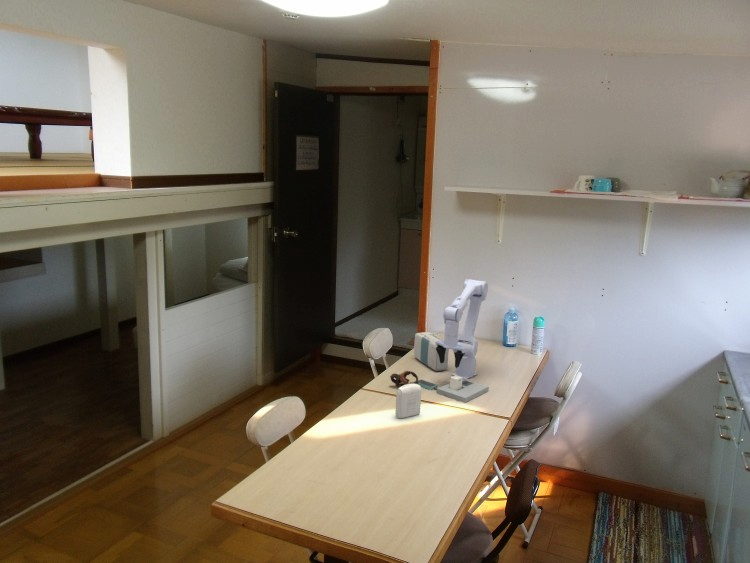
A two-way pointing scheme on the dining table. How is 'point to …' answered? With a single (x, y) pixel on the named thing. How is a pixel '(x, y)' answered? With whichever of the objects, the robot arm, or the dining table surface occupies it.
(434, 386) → the phone with cable
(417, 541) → the dining table surface
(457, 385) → the charger plug
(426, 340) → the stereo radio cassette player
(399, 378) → the brown curved looped piece
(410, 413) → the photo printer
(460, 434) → the dining table surface
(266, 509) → the dining table surface
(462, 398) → the outlet plate
